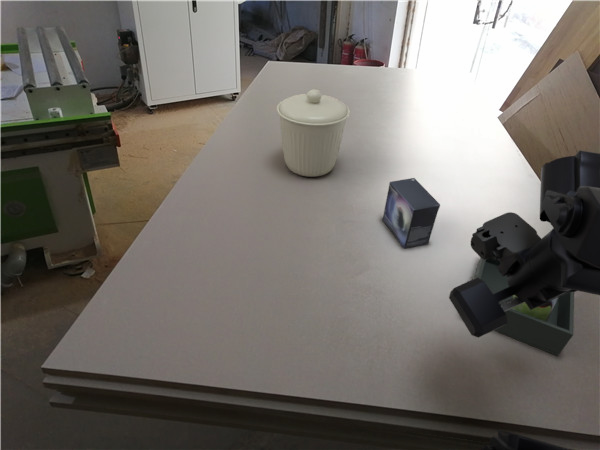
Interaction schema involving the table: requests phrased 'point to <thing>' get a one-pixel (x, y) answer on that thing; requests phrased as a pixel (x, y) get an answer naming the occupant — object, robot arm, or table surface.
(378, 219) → the table surface
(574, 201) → the robot arm
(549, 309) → the beverage can
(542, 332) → the open square box
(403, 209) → the small box
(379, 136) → the table surface
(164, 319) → the table surface
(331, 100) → the canister
